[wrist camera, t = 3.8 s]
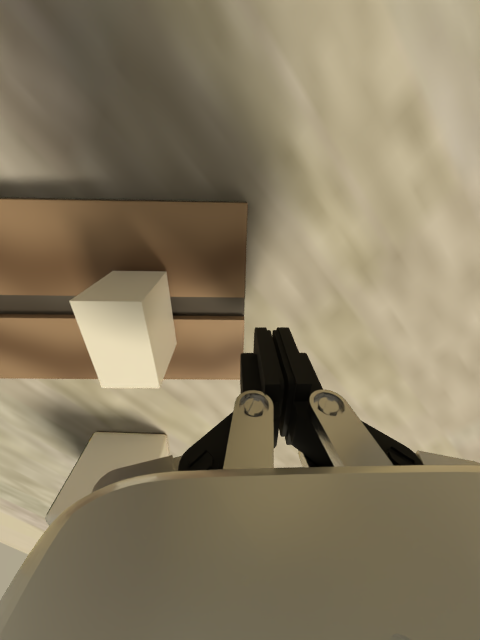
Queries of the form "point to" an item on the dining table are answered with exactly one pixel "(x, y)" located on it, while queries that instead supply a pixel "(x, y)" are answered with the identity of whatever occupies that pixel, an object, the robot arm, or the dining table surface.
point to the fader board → (120, 255)
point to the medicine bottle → (106, 463)
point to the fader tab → (128, 328)
